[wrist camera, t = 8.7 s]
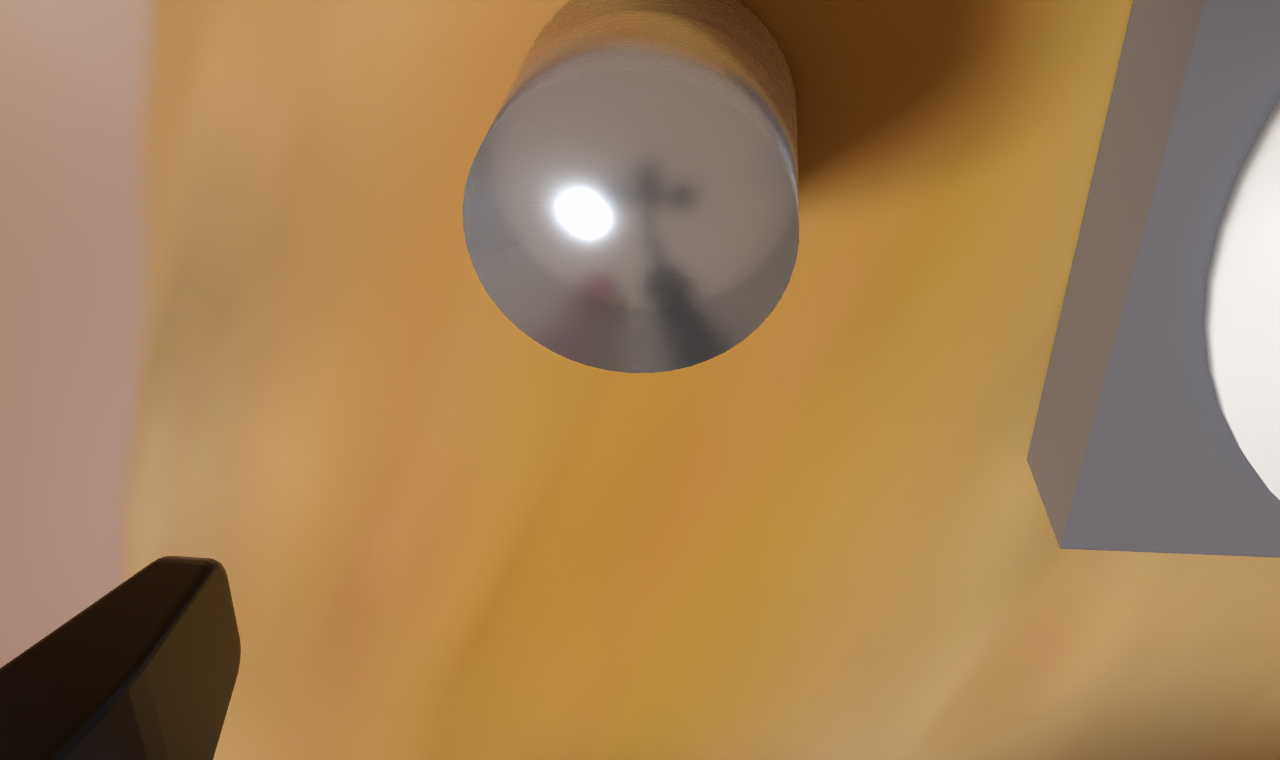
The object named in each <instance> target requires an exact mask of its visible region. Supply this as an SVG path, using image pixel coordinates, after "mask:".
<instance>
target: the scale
mask: <svg viewBox="0 0 1280 760" xmlns="http://www.w3.org/2000/svg"><path fill="white" fill-rule="evenodd" d="M1027 461H1028V464H1029V466H1030V469H1031V472H1032V474H1033V477H1034V480H1035V483H1036V485H1037V488H1038V491H1039V493H1040V496H1041V499H1042V501H1043V504H1044V507H1045V509H1046V512H1047V515H1048V517H1049V520H1050V523H1051V525H1052V528H1053V531H1054V534H1055V536H1056V539H1057V542H1058V544H1059V547H1060V549H1083V550H1108V551H1132V552H1157V553H1181V554H1206V555H1230V556H1255V557H1279V558H1280V0H1133V5H1132V9H1131V13H1130V18H1129V22H1128V26H1127V31H1126V35H1125V39H1124V43H1123V48H1122V52H1121V56H1120V61H1119V65H1118V69H1117V74H1116V78H1115V82H1114V87H1113V91H1112V95H1111V100H1110V104H1109V108H1108V112H1107V117H1106V121H1105V125H1104V130H1103V134H1102V138H1101V143H1100V147H1099V151H1098V156H1097V160H1096V164H1095V169H1094V173H1093V177H1092V182H1091V186H1090V190H1089V194H1088V199H1087V203H1086V207H1085V212H1084V216H1083V220H1082V225H1081V229H1080V233H1079V238H1078V242H1077V246H1076V251H1075V255H1074V259H1073V263H1072V268H1071V272H1070V276H1069V281H1068V285H1067V289H1066V294H1065V298H1064V302H1063V307H1062V311H1061V315H1060V320H1059V324H1058V328H1057V332H1056V337H1055V341H1054V345H1053V350H1052V354H1051V358H1050V363H1049V367H1048V371H1047V376H1046V380H1045V384H1044V389H1043V393H1042V397H1041V402H1040V406H1039V410H1038V414H1037V419H1036V423H1035V427H1034V432H1033V436H1032V440H1031V445H1030V449H1029V453H1028V458H1027Z"/></svg>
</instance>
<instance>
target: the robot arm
mask: <svg viewBox="0 0 1280 760" xmlns="http://www.w3.org/2000/svg"><path fill="white" fill-rule="evenodd" d="M240 654H241V646H240V637H239V632H238V627H237V622H236V617H235V612H234V607H233V602H232V597H231V592H230V587H229V582H228V577H227V574H226V571H225V569H224V567H223V566H222V564H221V563H220V562H218V561H216V560H214V559H210V558H195V557H180V556H167V557H162V558H160V559H157V560H156V561H154V562H152V563H151V564H149V565H148V566H146V567H145V568H143V569H142V570H141V571H139V572H138V573H136V574H135V575H133V576H132V577H131V578H129V579H128V580H126V581H125V582H123V583H122V584H120V585H119V586H118V587H116V588H115V589H113V590H112V591H110V592H109V593H108V594H106V595H105V596H103V597H102V598H100V599H99V600H98V601H96V602H95V603H93V604H92V605H90V606H89V607H88V608H86V609H85V610H83V611H82V612H80V613H79V614H77V615H76V616H75V617H73V618H72V619H70V620H69V621H67V622H66V623H65V624H63V625H62V626H60V627H59V628H57V629H56V630H55V631H53V632H52V633H50V634H49V635H48V636H46V637H44V638H43V639H42V640H40V641H39V642H37V643H36V644H34V645H33V646H32V647H30V648H29V649H27V650H26V651H24V652H23V653H22V654H20V655H19V656H17V657H16V658H14V659H13V660H12V661H10V662H9V663H7V664H6V665H4V666H3V667H2V668H0V760H213V758H214V754H215V751H216V747H217V744H218V741H219V737H220V734H221V730H222V727H223V723H224V720H225V716H226V713H227V710H228V706H229V703H230V699H231V696H232V692H233V689H234V685H235V682H236V678H237V675H238V670H239V664H240Z"/></svg>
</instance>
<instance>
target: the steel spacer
mask: <svg viewBox="0 0 1280 760" xmlns="http://www.w3.org/2000/svg"><path fill="white" fill-rule="evenodd" d="M463 225H464V232H465V238H466V244H467V248H468V251H469V254H470V257H471V261H472V264H473V266H474V268H475V270H476V272H477V275H478V277H479V279H480V281H481V283H482V284H483V286H484V288H485V289H486V291H487V292H488V294H489V296H490V297H491V299H492V300H493V301H494V302H495V304H496V305H497V306H498V307H499V309H500V310H501V311H502V312H503V313H504V315H505V316H506V317H508V318H509V319H510V320H511V321H512V322H513V323H514V324H515V325H516V326H517V327H518V328H519V329H520V330H522V331H523V332H524V333H526V334H527V335H528V336H529V337H531V338H532V339H533V340H535V341H536V342H538V343H540V344H541V345H543V346H545V347H546V348H548V349H550V350H551V351H553V352H555V353H557V354H560V355H562V356H564V357H566V358H568V359H570V360H573V361H576V362H579V363H582V364H585V365H588V366H592V367H596V368H601V369H605V370H610V371H619V372H628V373H653V372H662V371H671V370H675V369H680V368H684V367H689V366H692V365H695V364H698V363H701V362H704V361H707V360H709V359H711V358H713V357H715V356H717V355H719V354H722V353H724V352H726V351H727V350H729V349H730V348H732V347H733V346H735V345H737V344H738V343H740V342H741V341H743V340H744V339H745V338H746V337H747V336H749V335H750V334H751V333H752V332H753V331H754V330H756V329H757V328H758V327H759V326H760V325H761V323H762V322H763V321H764V320H765V319H766V318H767V317H768V316H769V315H770V313H771V312H772V310H773V309H774V308H775V306H776V305H777V303H778V302H779V300H780V299H781V297H782V295H783V293H784V291H785V289H786V287H787V285H788V283H789V281H790V278H791V275H792V271H793V268H794V265H795V262H796V256H797V250H798V244H799V195H798V150H797V105H796V96H795V88H794V83H793V80H792V76H791V72H790V69H789V66H788V64H787V61H786V59H785V57H784V54H783V52H782V50H781V49H780V47H779V45H778V44H777V42H776V40H775V39H774V37H773V35H772V34H771V33H770V32H769V30H768V29H767V28H766V27H765V25H764V24H763V23H762V22H761V21H760V20H759V19H758V18H757V17H756V16H755V15H754V14H753V13H752V12H751V11H750V10H749V9H748V8H747V7H745V6H744V5H743V4H741V3H740V2H738V1H737V0H571V1H570V2H568V3H567V4H566V5H565V6H564V7H563V8H562V9H561V10H559V11H558V12H557V13H556V14H555V15H554V16H553V17H552V19H551V20H550V21H549V22H548V23H547V24H546V26H545V27H544V28H543V30H542V31H541V33H540V34H539V36H538V37H537V39H536V41H535V42H534V44H533V46H532V48H531V50H530V52H529V54H528V56H527V57H526V59H525V61H524V63H523V65H522V67H521V69H520V71H519V73H518V75H517V77H516V79H515V81H514V83H513V85H512V86H511V88H510V90H509V92H508V94H507V96H506V98H505V100H504V102H503V104H502V106H501V108H500V110H499V112H498V113H497V115H496V117H495V119H494V121H493V123H492V125H491V127H490V129H489V131H488V133H487V135H486V137H485V139H484V141H483V142H482V144H481V146H480V148H479V150H478V153H477V155H476V157H475V159H474V162H473V164H472V166H471V169H470V172H469V176H468V179H467V183H466V187H465V194H464V203H463Z"/></svg>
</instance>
